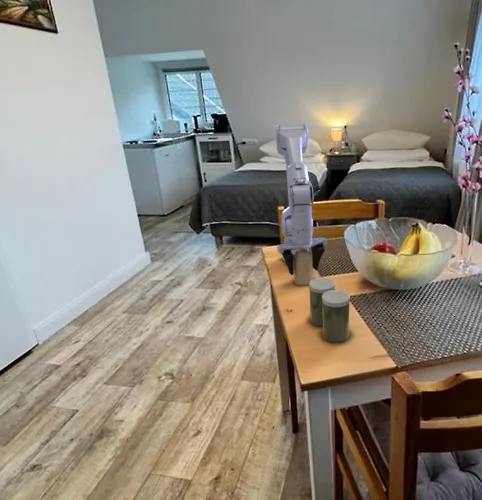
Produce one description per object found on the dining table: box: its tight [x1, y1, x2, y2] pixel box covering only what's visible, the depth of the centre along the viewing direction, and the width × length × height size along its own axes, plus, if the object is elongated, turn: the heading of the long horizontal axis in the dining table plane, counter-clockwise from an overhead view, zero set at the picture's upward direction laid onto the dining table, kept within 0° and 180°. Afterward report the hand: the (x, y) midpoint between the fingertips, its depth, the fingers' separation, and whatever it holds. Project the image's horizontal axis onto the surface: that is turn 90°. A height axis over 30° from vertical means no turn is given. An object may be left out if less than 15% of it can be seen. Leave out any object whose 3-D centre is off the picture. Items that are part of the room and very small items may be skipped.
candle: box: [293, 249, 314, 286], centre depth 113 cm, size 6×6×10 cm
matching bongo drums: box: [308, 277, 351, 343], centre depth 90 cm, size 13×6×10 cm, turn 23°
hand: (303, 271), depth 113 cm, fingers open, 7 cm apart
